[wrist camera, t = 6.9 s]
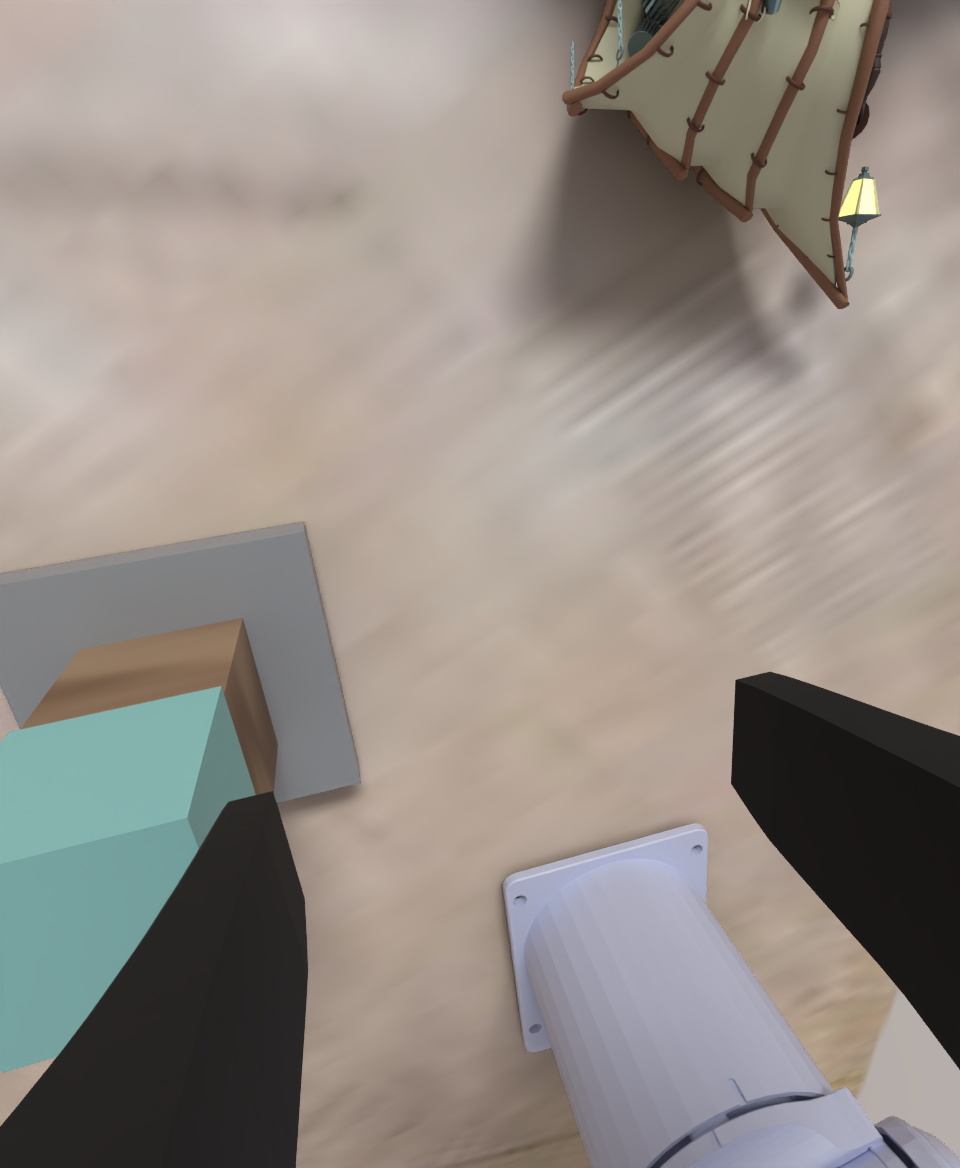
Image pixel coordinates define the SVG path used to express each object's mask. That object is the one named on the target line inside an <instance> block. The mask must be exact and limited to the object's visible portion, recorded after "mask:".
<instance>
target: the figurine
mask: <svg viewBox="0 0 960 1168" xmlns="http://www.w3.org/2000/svg"><path fill="white" fill-rule="evenodd" d="M889 4H890V0H607V2H606V5H605V8H604V11H603V14H602V17H601V20H600V24H599V26H598V28H597V30H596V32H595V35H594V37H593V39H592V41H591V43H590V46H589V48H588V50H587V52H586V54H585V56H584V59H583V61H582V63H581V65H580V68H579V71H578V74H577V77H576V80H575V82H574V42H572V44H571V90H570V91H567V92H564V93H563V95H562V99H563V102H564V103H565V104H566V105H567V111H568V114H569V115H570V116H576V115H582V114H584V113H585V112H586V111H587V110H588V109H613V110H628V111H627V113H628V117H629V118H630V119H632V121H633V122H634V124H635V125H636V127H637V128H638V129H639V131H640V132H641V134H642V135H643V137H644V138H645V140H646V141H647V144H648V145H649V146H650V147H651V149H652V150H653V151H654V153H655V154H656V155H657V156H658V158H659V159H660V160H661V161H662V162H663V164H664V165H665V166H666V167H667V169H668V170H669V171H670V172H671V173H672V175H673V176H674V177H675V178H676V180H677V181H683V180H684V179H685V178H686V177H687V175H689V170H690V166H691V168H692V169H693V171H694V173H695V174H696V176H697V177H696V178H697V183H699V184H700V185H703V186H704V188H705V189H706V191H707V192H708V193H709V194H710V195H711V196H713V197H714V198H715V199H716V200H717V201H718V202H720V203H721V204H722V205H723V206H724V207H725V208H727V209H728V210H729V211H730V212H731V213H732V214H734V215H735V216H736V217H737V218H738V219H739V220H740V221H742V222H746V221H748V220H750V219H751V218H752V216H753V214H752V209H753V208H760V209H761V211H762V212H763V214H764V215H765V217H766V219H767V220H768V222H769V223H770V225H771V226H772V228H773V230H774V231H775V232H776V233H777V235H778V236H779V237H780V238H781V239H782V241H783V242H784V243H785V244H786V246H787V247H788V248H789V249H790V251H791V252H792V253H793V254H794V255H795V257H796V258H797V259H798V260H799V262H800V263H801V264H802V265H803V267H804V268H805V269H806V270H807V271H808V273H809V274H810V275H811V276H812V278H813V279H814V280H815V281H816V283H817V284H818V285H819V286H820V287H821V289H822V290H823V291H824V292H825V294H826V295H827V296H828V297H829V299H830V300H831V301H832V302H833V303H834V305H835V306H836V307H837V308H838V309H843V308H845V307H847V306H848V305H849V302H848V296H847V288H846V281H848V280H849V279H850V278H851V277H852V275H853V271H854V269H853V267H851V264H852V258H853V253H854V247H855V241H856V235H857V230H858V226H860V225H861V224H863V223H866V222H867V221H868V220H871V219H873V218H876V217H878V216H881V214H880V212H879V205H878V199H877V192H876V185H875V179H874V178H873V177H870V176H869V173H867V171H868V169H869V167H862V170H861V171H862V174H859V176H858V178H856V179H854V180H852V183H851V185H850V187H849V189H848V191H847V193H846V195H845V197H844V199H843V202H842V204H841V201H842V195H843V189H844V183H845V177H846V171H847V165H848V158H849V152H850V146H851V141H852V139H853V138H855V137H856V136H857V135H859V134H860V133H861V132H862V131H863V129H864V128H865V126H866V125H867V122H868V118H869V106H868V105H867V103H866V100H867V96H868V95H869V93H870V91H871V90H872V88H873V86H874V84H875V82H876V80H877V78H878V75H879V73H880V68H881V63H880V58H881V57H882V54H881V51H882V48H883V45H884V44H883V43H884V41H885V38H886V35H887V31H888V25H889V19H890V18H891V16H892V10H889V9H888V8H889ZM572 50H573V51H572ZM572 60H573V61H572ZM572 69H573V71H572ZM572 80H573V81H572ZM582 108H585V110H584V111H582V112H581V110H582ZM680 163H681V164H680ZM872 179H873V182H872ZM699 180H700V182H701V183H700V182H699ZM738 201H739V202H740V203H741V204H740V203H739V202H738ZM742 204H743V205H744V206H743V205H742ZM838 220H839V221H843V222H847V224H849V225H851V226H852V227H853V230H852V236H851V243H850V248H849V252H848V259H847V265H846V267H845V268H844V264H843V256H842V248H841V240H840V232H839V225H838ZM854 231H855V232H854ZM853 238H854V240H853ZM852 244H853V246H852ZM845 271H846V272H849V271H850V274H849V276H848V278H846V279H845ZM836 282H837V286H838V288H837V287H836Z"/></svg>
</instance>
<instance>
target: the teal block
mask: <svg viewBox="0 0 960 1168" xmlns="http://www.w3.org/2000/svg"><path fill="white" fill-rule="evenodd" d="M254 795H256V794H255V791H254V787H253V784H252V781H251V778H250V775H249V772H248V769H247V765H246V762H245V759H244V756H243V753H242V750H241V746H240V743H239V740H238V737H237V734H236V731H235V728H234V724H233V721H232V718H231V715H230V712H229V709H228V705H227V702H226V699H225V696H224V693H223V690H222V687H221V686H219V687H215V688H210V689H205V690H201V691H196V692H192V693H187V694H182V695H178V696H173V697H168V698H164V699H159V700H155V701H150V702H145V703H141V704H136V705H132V706H127V707H122V708H118V709H113V710H108V711H104V712H99V713H95V714H90V715H85V716H81V717H76V718H72V719H67V720H62V721H58V722H53V723H48V724H44V725H39V726H35V727H30V728H25V729H21V730H16V731H11V732H9V733H8V734H7V735H6V737H5V738H4V739H3V741H2V742H1V743H0V1070H1V1071H2V1073H3V1072H7V1071H10V1070H13V1069H17V1068H20V1067H24V1066H27V1065H30V1064H34V1063H37V1062H40V1061H44V1060H47V1059H50V1058H54V1057H57V1056H58V1055H59V1054H60V1052H61V1051H62V1050H63V1048H64V1047H65V1046H66V1044H67V1043H68V1042H69V1040H70V1039H71V1038H72V1037H73V1035H74V1034H75V1033H76V1031H77V1030H78V1029H79V1027H80V1026H81V1025H82V1023H83V1022H84V1021H85V1019H86V1018H87V1017H88V1015H89V1014H90V1013H91V1011H92V1010H93V1008H94V1007H95V1006H96V1004H97V1003H98V1001H99V1000H100V998H101V997H102V996H103V994H104V993H105V991H106V990H107V989H108V987H109V986H110V984H111V983H112V981H113V980H114V979H115V977H116V976H117V974H118V973H119V972H120V970H121V969H122V967H123V966H124V965H125V963H126V962H127V960H128V959H129V957H130V956H131V955H132V953H133V952H134V950H135V949H136V947H137V946H138V944H139V943H140V941H141V940H142V938H143V937H144V935H145V934H146V932H147V931H148V929H149V928H150V926H151V925H152V923H153V922H154V920H155V918H156V917H157V915H158V914H159V912H160V911H161V909H162V908H163V906H164V904H165V903H166V901H167V900H168V898H169V897H170V895H171V894H172V892H173V890H174V889H175V887H176V886H177V884H178V883H179V881H180V879H181V878H182V876H183V874H184V873H185V871H186V869H187V868H188V866H189V865H190V863H191V861H192V860H193V858H194V856H195V855H196V853H197V851H198V850H199V848H200V846H201V845H202V843H203V841H204V840H205V838H206V836H207V834H208V833H209V831H210V829H211V828H212V826H213V824H214V823H215V821H216V819H217V818H218V816H219V814H220V813H221V811H222V810H223V808H224V807H225V805H226V804H227V803H228V802H229V801H233V800H237V799H241V798H246V797H250V796H254Z"/></svg>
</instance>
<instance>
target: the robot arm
mask: <svg viewBox="0 0 960 1168" xmlns="http://www.w3.org/2000/svg"><path fill="white" fill-rule="evenodd" d="M731 784H732V786H733V787H734V789H735V790H736V792H737V793H738V795H739V796H740V798H741V799H742V801H743V803H744V804H745V806H746V807H747V809H748V810H749V812H750V813H751V815H752V816H753V818H754V819H755V820H756V822H757V823H758V825H759V826H760V828H761V829H762V830H763V832H764V833H765V835H766V836H767V837H768V839H769V840H770V841H771V842H772V844H773V845H774V846H775V847H776V848H777V849H778V851H779V852H780V853H781V854H782V855H783V856H784V858H785V859H786V860H787V861H788V862H789V863H790V864H791V866H792V867H793V868H794V869H795V870H796V871H797V873H798V874H799V875H800V876H801V877H802V878H803V879H804V881H805V882H806V883H807V884H808V885H809V886H810V887H811V888H812V890H813V891H814V892H815V893H816V894H817V895H818V896H819V898H820V899H821V900H822V901H823V902H824V903H825V904H826V905H827V907H828V908H829V909H830V910H831V911H832V912H833V913H834V914H835V916H836V917H837V918H838V919H839V920H840V921H841V922H842V923H843V925H844V926H845V927H846V928H847V929H848V930H849V931H850V932H851V934H852V935H853V936H854V937H855V938H856V939H857V940H858V941H859V943H860V944H861V945H862V946H863V947H864V948H865V949H866V951H867V952H868V953H869V954H870V955H871V956H872V957H873V958H874V960H875V961H876V962H877V963H878V964H879V965H880V966H881V968H882V969H883V970H884V971H885V972H886V974H887V975H888V976H889V977H890V978H891V980H892V981H893V982H894V983H895V985H896V986H897V987H898V988H899V989H900V991H901V992H902V993H903V994H904V995H905V997H906V998H907V999H908V1001H909V1002H910V1003H911V1005H912V1006H913V1007H914V1009H915V1010H916V1011H917V1013H918V1014H919V1015H920V1017H921V1018H922V1019H923V1021H924V1022H925V1023H926V1025H927V1026H928V1027H929V1029H930V1030H931V1031H932V1033H933V1034H934V1036H935V1037H936V1038H937V1039H938V1041H939V1042H940V1043H941V1045H942V1046H943V1048H944V1049H945V1050H946V1052H947V1053H948V1054H949V1056H950V1057H951V1058H952V1060H953V1061H954V1062H955V1064H956V1065H957V1067H958V1068H959V1069H960V736H958V735H955V734H952V733H949V732H946V731H943V730H940V729H937V728H934V727H931V726H928V725H925V724H922V723H919V722H916V721H913V720H911V719H908V718H905V717H902V716H899V715H896V714H894V713H891V712H888V711H885V710H882V709H880V708H877V707H874V706H871V705H868V704H866V703H863V702H860V701H857V700H854V699H852V698H849V697H846V696H843V695H840V694H838V693H835V692H832V691H829V690H826V689H824V688H821V687H818V686H815V685H812V684H809V683H806V682H803V681H800V680H797V679H794V678H790V677H787V676H784V675H780V674H776V673H773V672H767V673H763V674H759V675H754V676H750V677H746V678H742V679H738V680H736V683H735V706H734V729H733V752H732V775H731ZM707 855H708V834H707V832H706V830H705V829H704V828H703V827H702V826H701V824H697V823H694V824H689V825H685V826H682V827H678V828H675V829H671V830H667V831H664V832H660V833H657V834H653V835H650V836H646V837H642V838H639V839H635V840H632V841H628V842H624V843H621V844H617V845H614V846H610V847H606V848H603V849H599V850H596V851H592V852H588V853H585V854H581V855H578V856H574V857H571V858H567V859H563V860H560V861H556V862H553V863H549V864H545V865H542V866H538V867H535V868H531V869H527V870H524V871H520V872H517V873H514V874H511V875H509V876H508V877H507V878H506V879H505V881H504V882H503V893H504V901H505V908H506V916H507V923H508V931H509V938H510V946H511V953H512V961H513V968H514V976H515V983H516V991H517V998H518V1006H519V1013H520V1021H521V1028H522V1036H523V1041H524V1045H525V1048H526V1050H527V1051H529V1052H532V1053H536V1052H540V1051H543V1050H546V1049H549V1048H552V1051H553V1054H554V1057H555V1060H556V1063H557V1066H558V1069H559V1072H560V1076H561V1079H562V1082H563V1085H564V1088H565V1091H566V1094H567V1097H568V1100H569V1103H570V1106H571V1109H572V1112H573V1115H574V1118H575V1121H576V1124H577V1127H578V1130H579V1133H580V1136H581V1139H582V1142H583V1145H584V1148H585V1151H586V1154H587V1157H588V1160H589V1163H590V1166H591V1168H960V1159H959V1157H958V1156H957V1155H956V1154H955V1153H953V1151H951V1150H950V1149H949V1148H948V1147H947V1146H946V1145H945V1144H944V1143H943V1142H942V1141H940V1140H939V1139H938V1138H936V1137H935V1136H933V1135H932V1134H930V1133H928V1132H925V1131H923V1130H920V1129H918V1128H916V1127H913V1126H911V1125H909V1124H908V1123H907V1122H905V1121H904V1120H902V1119H900V1118H898V1117H895V1116H890V1117H887V1118H885V1119H884V1120H882V1121H880V1122H878V1123H877V1124H875V1125H873V1123H872V1122H871V1121H870V1119H869V1118H868V1116H867V1115H866V1114H865V1112H864V1111H863V1109H862V1108H861V1106H860V1105H859V1104H858V1102H857V1101H856V1099H855V1098H854V1096H853V1095H852V1094H851V1092H850V1091H849V1089H848V1088H846V1087H842V1088H840V1089H838V1090H836V1091H834V1090H833V1089H832V1087H831V1086H830V1084H829V1083H828V1081H827V1080H826V1078H825V1077H824V1075H823V1074H822V1073H821V1071H820V1070H819V1068H818V1067H817V1065H816V1064H815V1062H814V1061H813V1059H812V1058H811V1057H810V1055H809V1054H808V1052H807V1051H806V1049H805V1048H804V1046H803V1045H802V1043H801V1042H800V1040H799V1039H798V1038H797V1036H796V1035H795V1033H794V1032H793V1030H792V1029H791V1027H790V1026H789V1024H788V1023H787V1022H786V1020H785V1019H784V1017H783V1016H782V1014H781V1013H780V1011H779V1010H778V1008H777V1007H776V1005H775V1004H774V1003H773V1001H772V1000H771V998H770V997H769V995H768V994H767V992H766V991H765V989H764V988H763V987H762V985H761V984H760V982H759V981H758V979H757V978H756V976H755V975H754V973H753V972H752V970H751V969H750V968H749V966H748V965H747V963H746V962H745V960H744V959H743V957H742V956H741V954H740V953H739V952H738V950H737V949H736V947H735V946H734V944H733V943H732V941H731V940H730V938H729V937H728V935H727V934H726V933H725V931H724V930H723V928H722V927H721V925H720V924H719V922H718V921H717V919H716V918H715V917H714V915H713V914H712V912H711V911H710V909H709V908H708V906H707V905H706V891H707ZM518 896H520V897H518ZM516 897H518V898H516ZM307 980H308V960H307V935H306V916H305V898H304V895H303V892H302V888H301V885H300V881H299V878H298V875H297V871H296V868H295V864H294V861H293V858H292V854H291V851H290V847H289V844H288V840H287V837H286V834H285V830H284V827H283V823H282V820H281V817H280V813H279V810H278V806H277V803H276V799H275V796H274V793H273V791H271V792H266V793H262V794H258V795H254V796H250V797H246V798H241V799H237V800H233V801H229V802H228V803H227V804H226V805H225V807H224V808H223V810H222V811H221V813H220V814H219V816H218V818H217V819H216V821H215V823H214V824H213V826H212V828H211V829H210V831H209V833H208V834H207V836H206V838H205V840H204V841H203V843H202V845H201V846H200V848H199V850H198V851H197V853H196V855H195V856H194V858H193V860H192V861H191V863H190V865H189V866H188V868H187V869H186V871H185V873H184V874H183V876H182V878H181V879H180V881H179V883H178V884H177V886H176V887H175V889H174V890H173V892H172V894H171V895H170V897H169V898H168V900H167V901H166V903H165V904H164V906H163V908H162V909H161V911H160V912H159V914H158V915H157V917H156V918H155V920H154V922H153V923H152V925H151V926H150V928H149V929H148V931H147V932H146V934H145V935H144V937H143V938H142V940H141V941H140V943H139V944H138V946H137V947H136V949H135V950H134V952H133V953H132V955H131V956H130V957H129V959H128V960H127V962H126V963H125V965H124V966H123V967H122V969H121V970H120V972H119V973H118V974H117V976H116V977H115V979H114V980H113V981H112V983H111V984H110V986H109V987H108V989H107V990H106V991H105V993H104V994H103V996H102V997H101V998H100V1000H99V1001H98V1003H97V1004H96V1006H95V1007H94V1008H93V1010H92V1011H91V1013H90V1014H89V1015H88V1017H87V1018H86V1019H85V1021H84V1022H83V1023H82V1025H81V1026H80V1027H79V1029H78V1030H77V1031H76V1033H75V1034H74V1035H73V1037H72V1038H71V1039H70V1040H69V1042H68V1043H67V1044H66V1046H65V1047H64V1048H63V1050H62V1051H61V1052H60V1054H59V1055H58V1056H57V1057H56V1059H55V1060H54V1061H53V1063H52V1064H51V1065H50V1066H49V1068H48V1069H47V1070H46V1071H45V1073H44V1074H43V1075H42V1076H41V1078H40V1079H39V1080H38V1081H37V1083H36V1084H35V1085H34V1086H33V1087H32V1089H31V1090H30V1091H29V1092H28V1094H27V1095H26V1096H25V1097H24V1099H23V1100H22V1101H21V1102H20V1104H19V1105H18V1106H17V1107H16V1109H15V1110H14V1111H13V1112H12V1113H11V1115H10V1116H9V1117H8V1118H7V1119H6V1120H5V1122H4V1123H3V1124H2V1125H1V1126H0V1168H296V1152H297V1137H298V1122H299V1107H300V1091H301V1076H302V1061H303V1046H304V1030H305V1014H306V998H307Z"/></svg>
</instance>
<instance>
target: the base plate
mask: <svg viewBox="0 0 960 1168" xmlns="http://www.w3.org/2000/svg"><path fill="white" fill-rule="evenodd" d="M240 618H243V621H244V624H245V628H246V631H247V635H248V639H249V642H250V646H251V649H252V653H253V656H254V660H255V664H256V667H257V671H258V674H259V678H260V681H261V685H262V689H263V692H264V696H265V699H266V703H267V706H268V710H269V714H270V717H271V721H272V724H273V728H274V731H275V735H276V739H277V742H278V749H277V761H276V772H275V784H274V796H275V799H276V803H280V802H284V801H289V800H293V799H297V798H301V797H305V796H309V795H313V794H317V793H321V792H326V791H330V790H334V789H338V788H342V787H346V786H350V785H354V784H358V783H361V781H360V771H359V762H358V758H357V754H356V749H355V745H354V740H353V736H352V731H351V727H350V723H349V718H348V714H347V709H346V705H345V700H344V696H343V691H342V687H341V683H340V678H339V674H338V669H337V665H336V660H335V656H334V652H333V647H332V643H331V638H330V634H329V629H328V625H327V621H326V616H325V612H324V607H323V603H322V598H321V594H320V589H319V585H318V581H317V576H316V572H315V567H314V563H313V558H312V554H311V550H310V545H309V541H308V536H307V532H306V527H305V523H304V522H299V523H293V524H288V525H282V526H276V527H270V528H264V529H259V530H253V531H247V532H241V533H235V534H229V535H224V536H218V537H212V538H206V539H200V540H194V541H189V542H183V543H177V544H171V545H165V546H159V547H154V548H148V549H142V550H136V551H130V552H124V553H119V554H113V555H107V556H101V557H95V558H89V559H84V560H78V561H72V562H66V563H60V564H55V565H49V566H43V567H37V568H31V569H25V570H20V571H14V572H8V573H2V574H0V686H1V688H2V690H3V693H4V695H5V697H6V699H7V701H8V704H9V706H10V708H11V710H12V712H13V714H14V717H15V719H16V721H17V723H18V725H19V728H20V729H21V727H22V726H23V725H24V723H25V722H26V721H27V719H28V718H29V717H30V715H31V714H32V712H33V711H34V710H35V708H36V707H37V706H38V704H39V703H40V702H41V700H42V699H43V698H44V696H45V695H46V693H47V692H48V691H49V689H50V688H51V687H52V685H53V684H54V683H55V681H56V680H57V679H58V677H59V676H60V674H61V673H62V672H63V670H64V669H65V668H66V666H67V665H68V664H69V662H70V661H71V660H72V658H73V657H74V655H75V654H76V653H77V651H78V650H80V649H85V648H90V647H95V646H100V645H105V644H111V643H116V642H121V641H126V640H131V639H136V638H142V637H147V636H152V635H157V634H162V633H167V632H173V631H178V630H183V629H188V628H193V627H198V626H204V625H209V624H214V623H219V622H224V621H229V620H235V619H240Z"/></svg>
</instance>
